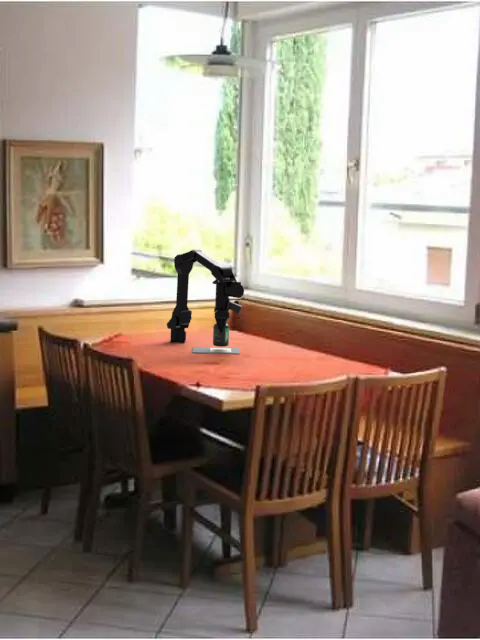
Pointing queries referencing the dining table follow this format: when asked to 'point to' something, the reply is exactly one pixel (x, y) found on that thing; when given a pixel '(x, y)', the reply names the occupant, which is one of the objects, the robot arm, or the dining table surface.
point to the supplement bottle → (221, 335)
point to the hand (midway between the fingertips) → (221, 331)
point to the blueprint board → (216, 350)
